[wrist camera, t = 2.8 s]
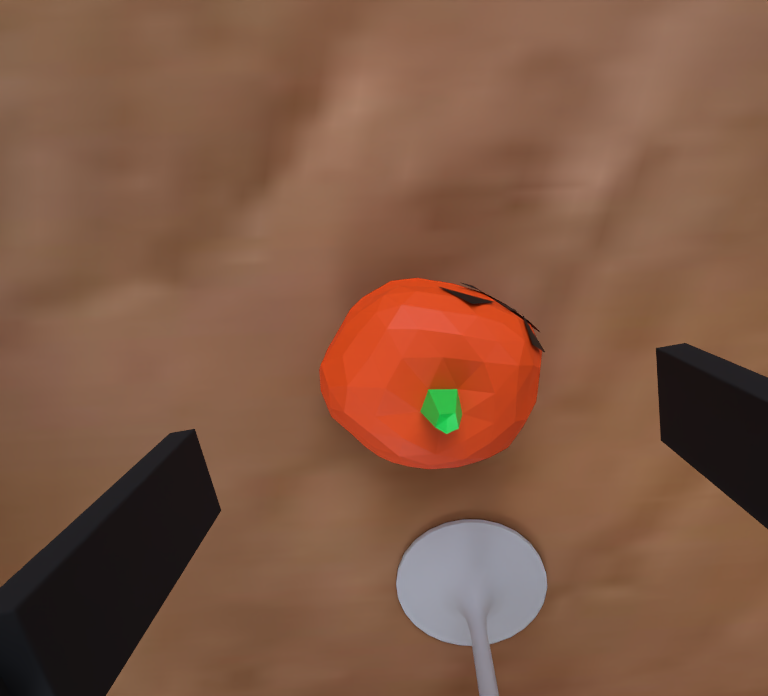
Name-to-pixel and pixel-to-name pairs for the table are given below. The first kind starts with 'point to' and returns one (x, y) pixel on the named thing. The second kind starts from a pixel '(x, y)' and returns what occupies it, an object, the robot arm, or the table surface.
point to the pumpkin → (432, 373)
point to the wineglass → (472, 587)
